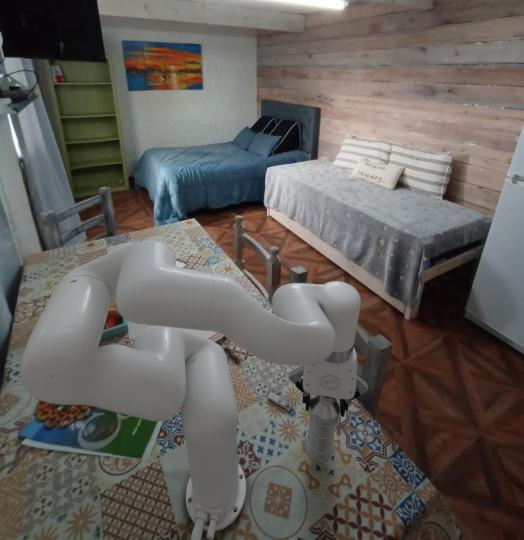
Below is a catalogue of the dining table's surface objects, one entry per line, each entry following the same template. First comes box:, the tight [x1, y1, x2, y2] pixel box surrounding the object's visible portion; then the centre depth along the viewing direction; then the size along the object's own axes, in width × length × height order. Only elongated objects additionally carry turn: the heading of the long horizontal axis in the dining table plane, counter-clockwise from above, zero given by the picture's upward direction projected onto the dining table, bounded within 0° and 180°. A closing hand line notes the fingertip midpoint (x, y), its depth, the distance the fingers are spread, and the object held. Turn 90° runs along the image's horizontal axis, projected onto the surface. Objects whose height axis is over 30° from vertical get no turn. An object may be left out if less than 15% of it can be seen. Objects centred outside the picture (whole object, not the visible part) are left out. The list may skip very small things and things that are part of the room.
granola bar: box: [267, 390, 293, 412], centre depth 84 cm, size 7×2×1 cm, turn 58°
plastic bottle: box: [303, 394, 340, 465], centre depth 68 cm, size 6×7×20 cm
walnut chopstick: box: [224, 347, 241, 364], centre depth 98 cm, size 7×1×1 cm, turn 44°
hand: (324, 406), depth 67 cm, fingers closed on plastic bottle, 6 cm apart
